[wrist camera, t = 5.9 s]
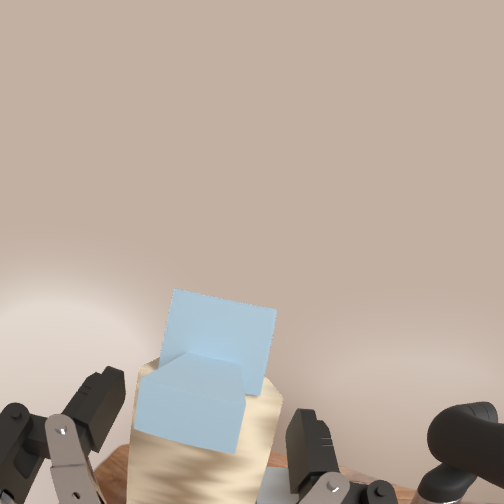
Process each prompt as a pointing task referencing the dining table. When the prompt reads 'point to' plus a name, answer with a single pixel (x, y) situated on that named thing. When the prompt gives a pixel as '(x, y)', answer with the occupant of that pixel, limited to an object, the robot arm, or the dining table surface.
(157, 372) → the blue handle block
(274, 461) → the dining table surface
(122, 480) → the dining table surface
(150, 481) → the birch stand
